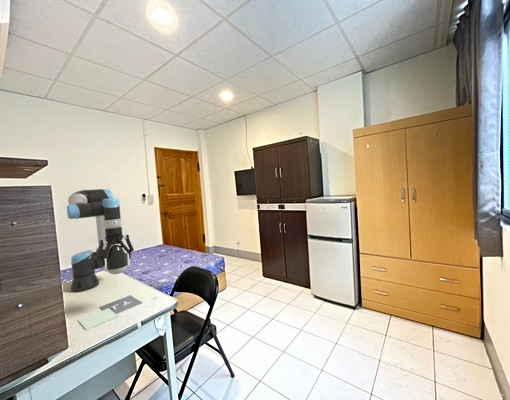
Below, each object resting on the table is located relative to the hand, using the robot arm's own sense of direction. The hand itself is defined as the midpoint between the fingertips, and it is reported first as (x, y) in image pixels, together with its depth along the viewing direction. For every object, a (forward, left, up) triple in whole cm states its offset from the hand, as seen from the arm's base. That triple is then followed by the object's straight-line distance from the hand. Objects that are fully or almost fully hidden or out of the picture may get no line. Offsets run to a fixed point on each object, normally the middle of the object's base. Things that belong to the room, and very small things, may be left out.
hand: (117, 267), depth 122 cm
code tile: (0, 0, -21) cm, 21 cm away
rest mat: (+5, -12, -21) cm, 24 cm away
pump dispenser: (0, 0, -3) cm, 3 cm away
